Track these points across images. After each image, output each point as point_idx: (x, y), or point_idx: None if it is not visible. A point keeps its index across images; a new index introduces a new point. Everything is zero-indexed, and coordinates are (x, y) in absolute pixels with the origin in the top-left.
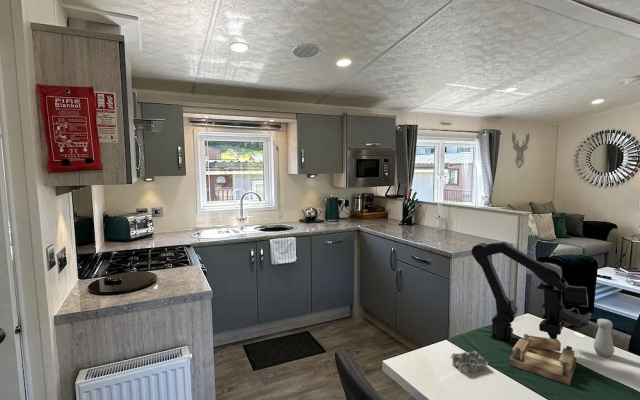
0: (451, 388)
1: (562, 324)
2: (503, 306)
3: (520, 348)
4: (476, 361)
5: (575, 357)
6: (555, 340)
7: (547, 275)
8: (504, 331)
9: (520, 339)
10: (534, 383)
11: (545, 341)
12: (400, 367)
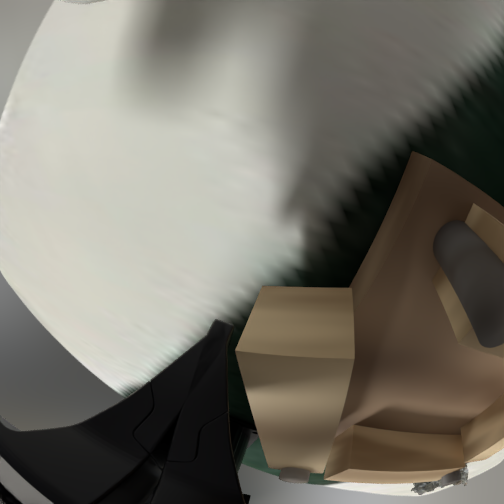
0: (498, 457)
1: (42, 489)
2: None
3: (437, 474)
4: None
5: (438, 173)
6: (281, 380)
7: None
8: (236, 467)
9: (339, 479)
10: None
11: (334, 432)
12: (432, 491)
